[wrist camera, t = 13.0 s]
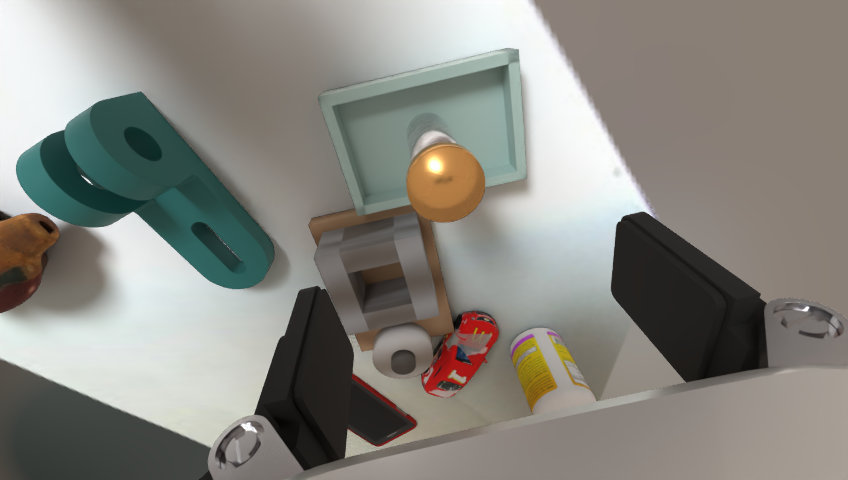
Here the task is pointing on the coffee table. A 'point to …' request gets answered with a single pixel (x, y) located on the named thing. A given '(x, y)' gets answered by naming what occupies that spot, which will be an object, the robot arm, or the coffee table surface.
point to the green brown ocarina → (23, 256)
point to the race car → (460, 354)
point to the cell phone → (375, 415)
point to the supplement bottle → (548, 372)
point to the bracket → (145, 188)
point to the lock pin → (441, 172)
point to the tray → (427, 93)
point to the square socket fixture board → (385, 284)
